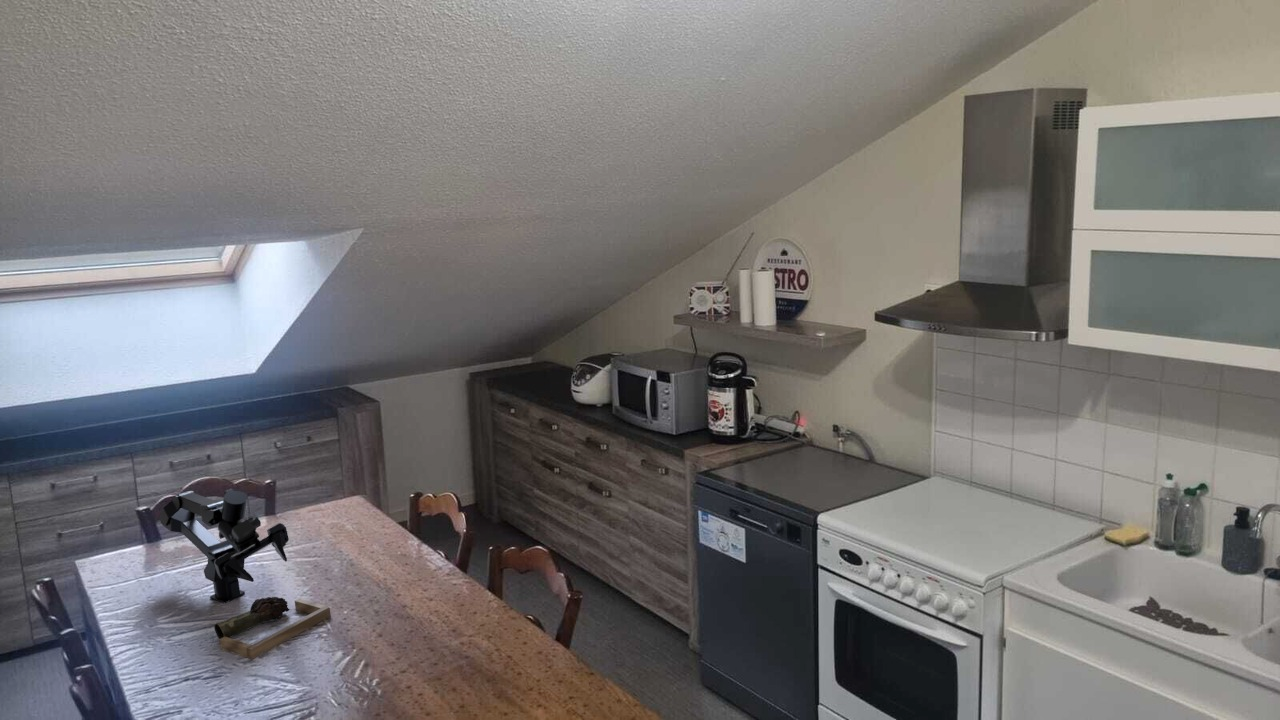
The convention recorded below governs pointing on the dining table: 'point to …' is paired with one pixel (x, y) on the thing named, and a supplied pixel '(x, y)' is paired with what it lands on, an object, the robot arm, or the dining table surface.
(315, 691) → the dining table surface
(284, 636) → the cradle frame
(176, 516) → the robot arm
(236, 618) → the mossy log
